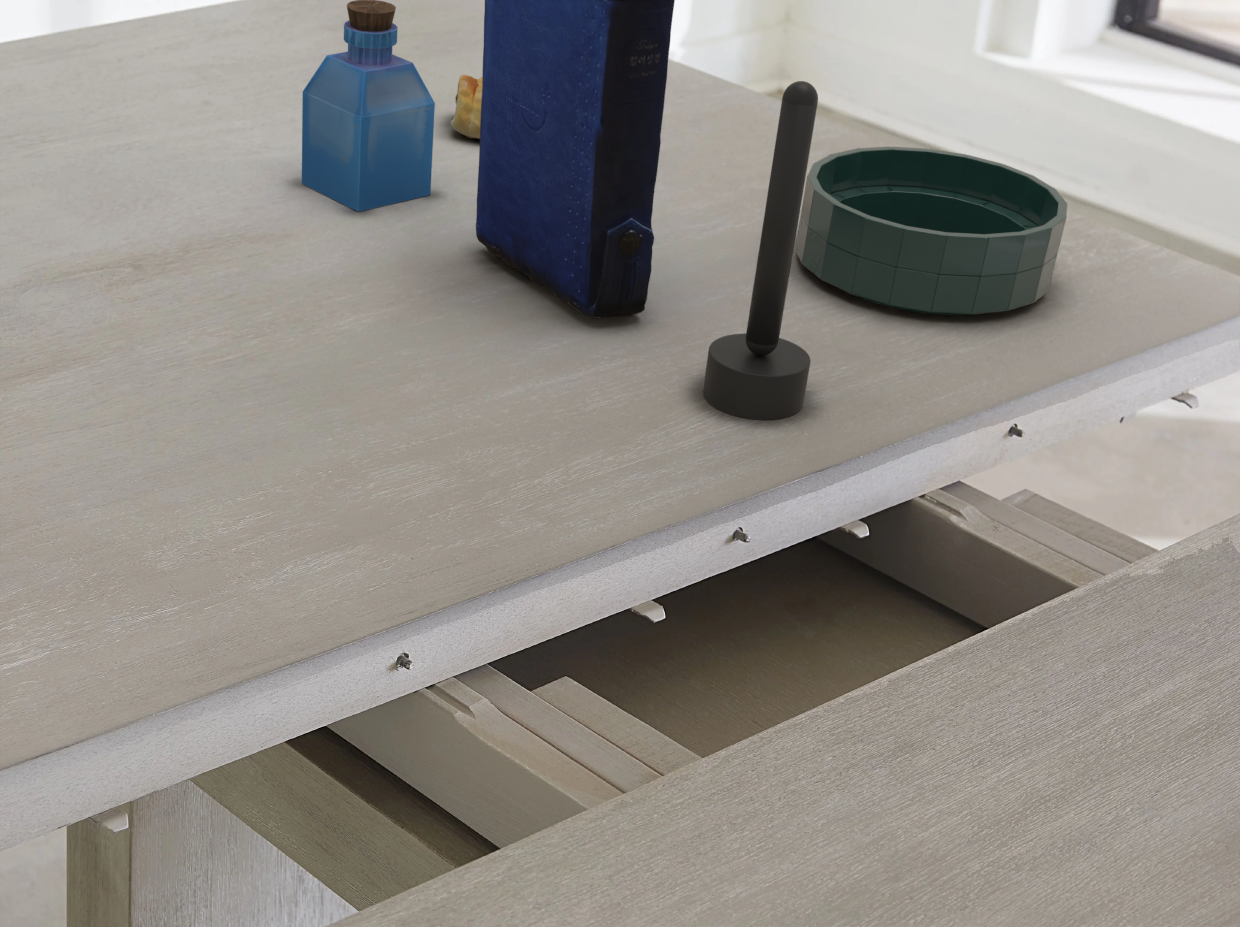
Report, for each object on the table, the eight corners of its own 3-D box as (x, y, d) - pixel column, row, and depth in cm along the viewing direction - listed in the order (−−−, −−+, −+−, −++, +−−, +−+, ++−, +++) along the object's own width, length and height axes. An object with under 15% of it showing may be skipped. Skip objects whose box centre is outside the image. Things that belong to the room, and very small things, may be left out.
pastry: (575, 121, 144) (579, 70, 141) (578, 151, 138) (583, 99, 136) (451, 113, 143) (454, 62, 141) (450, 143, 138) (452, 90, 135)
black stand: (794, 378, 108) (846, 68, 98) (811, 422, 103) (868, 101, 94) (696, 373, 108) (740, 62, 98) (709, 417, 103) (756, 95, 93)
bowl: (1009, 233, 130) (1028, 153, 127) (1078, 329, 117) (1100, 243, 114) (776, 220, 129) (789, 140, 126) (819, 316, 116) (834, 229, 113)
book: (659, 320, 113) (702, -28, 102) (585, 334, 111) (621, -21, 100) (530, 237, 123) (556, -90, 112) (460, 249, 121) (479, -84, 109)
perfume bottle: (301, 183, 129) (303, 0, 122) (373, 167, 132) (378, -12, 125) (358, 211, 125) (363, 24, 118) (430, 194, 128) (439, 12, 122)
